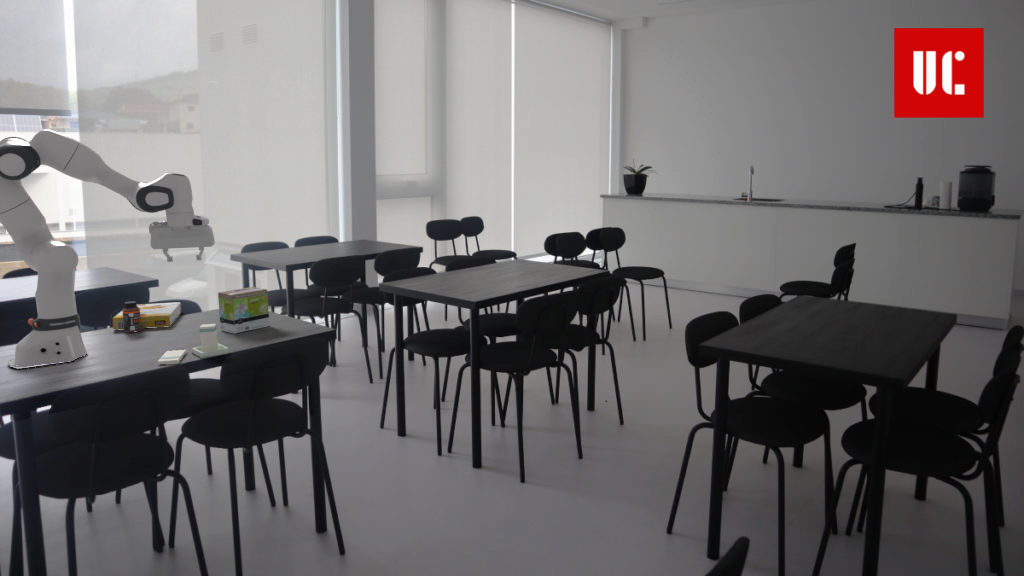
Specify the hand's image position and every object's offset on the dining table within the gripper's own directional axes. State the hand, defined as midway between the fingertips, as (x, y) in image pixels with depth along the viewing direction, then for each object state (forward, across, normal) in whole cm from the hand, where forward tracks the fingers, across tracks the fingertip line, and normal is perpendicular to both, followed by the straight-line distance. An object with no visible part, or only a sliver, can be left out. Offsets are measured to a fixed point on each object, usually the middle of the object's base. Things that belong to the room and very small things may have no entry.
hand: (184, 260), depth 266 cm
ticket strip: (+29, -2, -21) cm, 36 cm away
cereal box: (+30, -24, +42) cm, 57 cm away
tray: (+29, +9, -17) cm, 35 cm away
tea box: (+29, +16, +17) cm, 37 cm away
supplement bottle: (+29, -26, +24) cm, 46 cm away
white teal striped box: (+29, +9, -17) cm, 34 cm away
